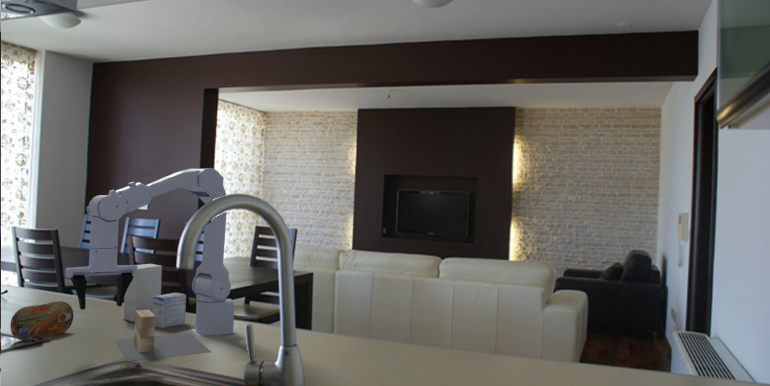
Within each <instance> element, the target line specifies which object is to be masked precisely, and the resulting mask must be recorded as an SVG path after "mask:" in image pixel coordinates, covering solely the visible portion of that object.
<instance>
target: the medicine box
mask: <svg viewBox="0 0 770 386" xmlns="http://www.w3.org/2000/svg"><path fill="white" fill-rule="evenodd" d="M186 304H187V294H186V293H185V294H184V293H180V292H171V293H166V294H165V293H164V294H161V295H159V296H154V297H153V314H154V316H155V328H160V329H164V328H168V327H171V326H180V325H181V326H183V325H185V324H186V306H187V305H186Z"/></svg>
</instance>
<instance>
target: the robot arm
mask: <svg viewBox="0 0 770 386" xmlns="http://www.w3.org/2000/svg"><path fill="white" fill-rule="evenodd" d="M224 178H225V177H223V176H222V174H221V173H220V172H219V171H218V170H216V169H215V168H212V167H209V168H208V167H206V168H194V167H193V168H192V167H191V168H187V169H183V170H179V171H177V172H176V171H175V172H174V173H172V174H170V175H167V176H164V177H161V178H160V179H157V180H155V181H152V182H150V183H147V184H145V183H142V182H135V181H131V182H127V186H125V187H122V188H119V189H117V190H115V189H111V190H109V191H108V194H105V195H103V194H101V195H100V194H99V195H96V196H94V197H92V199H91V200H90V201H89V204H88V206H86V213H87V214H88V216H89V217H90V232H89V233H90V235H89V252H88V253H89V258H88V265H87V266H86V265H85V266H77V267H76V266H75V267H74V266H73V267H66V269H65V277H66V278H70V282H71V283H72V285H73V288H74V289H75V290H74V291H76V296H77V299H78V304H79V309H80V310H81V311H82V310H86V290H87V283H88V280H87V279H86V277H95V276H114V275H116V300H115V302H116V303H115V305H116V306H117V307H122V306H123V304H124V296H125V293H126V291H127V289H128V287H129V285H130V283H131V282H132V280H133V275H132V274H137V266H136V265H137V264H129V265H128V264H118V251H119V250H118V246H119V244H118V243H119V226H120V225H119V223H120V221H119V220H120V219H121V218H122V217H123V216H124V215H125V214H127V213H128V214H129V213H130V212H132V211H136V210H138V209H140V208H142V207H145V206H148V205H149V204H150V203H151V200H152V198H154V197H157V196H160V195H162V194H165V193H168V192H172V191H174V190H177V189H184V190H185V191H187V192H188V193H190V194H193V195H194V196H196V197H198V198H199V199H200V200H201V201H202V202H203V203H204V204H205V205H206V203H208V202H210V201H211V200H213V199H215V198H218V197H221V196H225V195H227V193H226V189H225V187H224ZM227 213H228V211H227V212H225V213H223V214H221V215H219V216H217V217H215V218H214V219H213V220H212V222H211V223H209V224H208V225H207V227H206V228H205V229H204V228H203V229H204V230H203V243H202V254H201V255H202V257H201V264H200V265H198V266H197V268H196V270H195V271H196V272H195V276H194V277H193V280H192V283H191V284H192V285H191V288H192V291H193V293H194V294H195V298H196V305H195V306H196V307H195V308H196V311H195V328H191V329H190V330H191V331H192V332H193V333H194V334H195V335H196V336H198V337H201V336H202V337H203V336H211V335H213V336H214V335H222V336H224V335H225V336H226V335H233V334H234V333H235V332H234V327H235V326H234V324H235V323H234V322H235V321H234V320H235V319H234V318H235V305H234V304H235V303H234V301H233V299H232V298H227V297H228V296H229V295H230V293H231V291H232V290H231V289H232V284H231V281H230V278H229V277H230V276H229V274H230V272H229V270H228V268H227V267H226V266H225V264H224V257H225V242H226V228H227V226H226V225H227V215H228V214H227Z"/></svg>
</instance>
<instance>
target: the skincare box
mask: <svg viewBox="0 0 770 386" xmlns="http://www.w3.org/2000/svg"><path fill="white" fill-rule="evenodd" d="M135 265H136V266H137V274H132V275H133V280H132V282H131V283H130V285H129V287H128V289H127V291H126V293H125V296H124V299H123V320H126V321H127V322H132V323H135V311H136V310H150V311H151V312H152V313H153V297H154V296H159V295H162V275H163V274H162V272H163V271H162V269H163V265H159V264H154V263H147V264H146V263H144V264H143V263H142V264H135Z"/></svg>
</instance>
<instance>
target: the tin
mask: <svg viewBox="0 0 770 386" xmlns="http://www.w3.org/2000/svg"><path fill="white" fill-rule="evenodd" d="M73 320H74V310H73V308H72V306H71V305H70V304H69V303H68V302H66V301H50V302H45V303H40V304H39V303H38V304H34V305H28V306H24V307H21V308H20V309H18V310H17V311H16V312H15V313H14V314H13V316H12V317H11V320H10V332H11V335H12V336H13V337H14V338H16V339H17V340H20V341H25V342H31V341H30V340H34V341H36V340H35V339H39V340H42V339H43V337H52V336H54V337H55V336H59V335H62V334H64V333H65V332H67V331H68V330H69V328H70V327H71V326H72V323H73Z"/></svg>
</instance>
